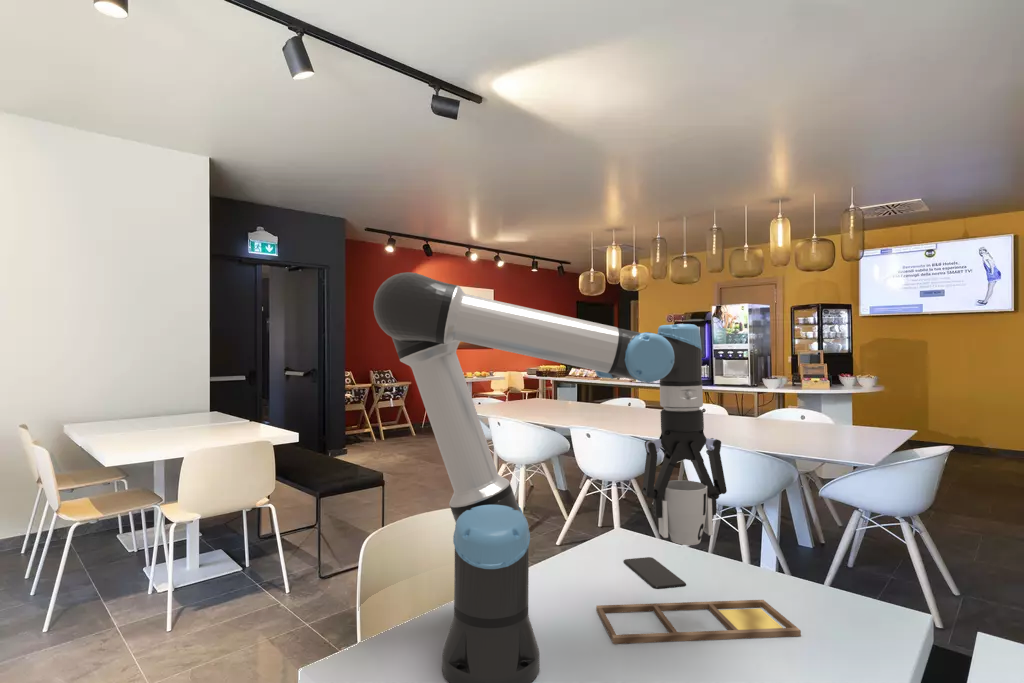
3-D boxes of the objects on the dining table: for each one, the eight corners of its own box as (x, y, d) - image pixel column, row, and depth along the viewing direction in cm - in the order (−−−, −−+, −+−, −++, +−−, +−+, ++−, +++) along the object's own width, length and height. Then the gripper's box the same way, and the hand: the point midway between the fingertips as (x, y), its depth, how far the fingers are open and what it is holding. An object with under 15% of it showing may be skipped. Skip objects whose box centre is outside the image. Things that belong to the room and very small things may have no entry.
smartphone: (688, 588, 116) (652, 560, 131) (688, 583, 116) (652, 556, 131) (654, 591, 114) (621, 562, 129) (654, 587, 114) (621, 559, 129)
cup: (712, 549, 95) (710, 491, 95) (664, 547, 97) (662, 490, 97) (705, 534, 103) (704, 480, 103) (661, 532, 105) (659, 479, 105)
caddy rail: (613, 643, 92) (613, 637, 92) (596, 610, 104) (596, 605, 104) (800, 636, 95) (800, 630, 95) (763, 604, 107) (763, 599, 107)
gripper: (633, 412, 96) (637, 544, 95) (745, 408, 98) (750, 537, 97) (621, 408, 103) (624, 530, 103) (725, 404, 105) (729, 524, 104)
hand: (685, 533), depth 100 cm, fingers closed on cup, 8 cm apart
